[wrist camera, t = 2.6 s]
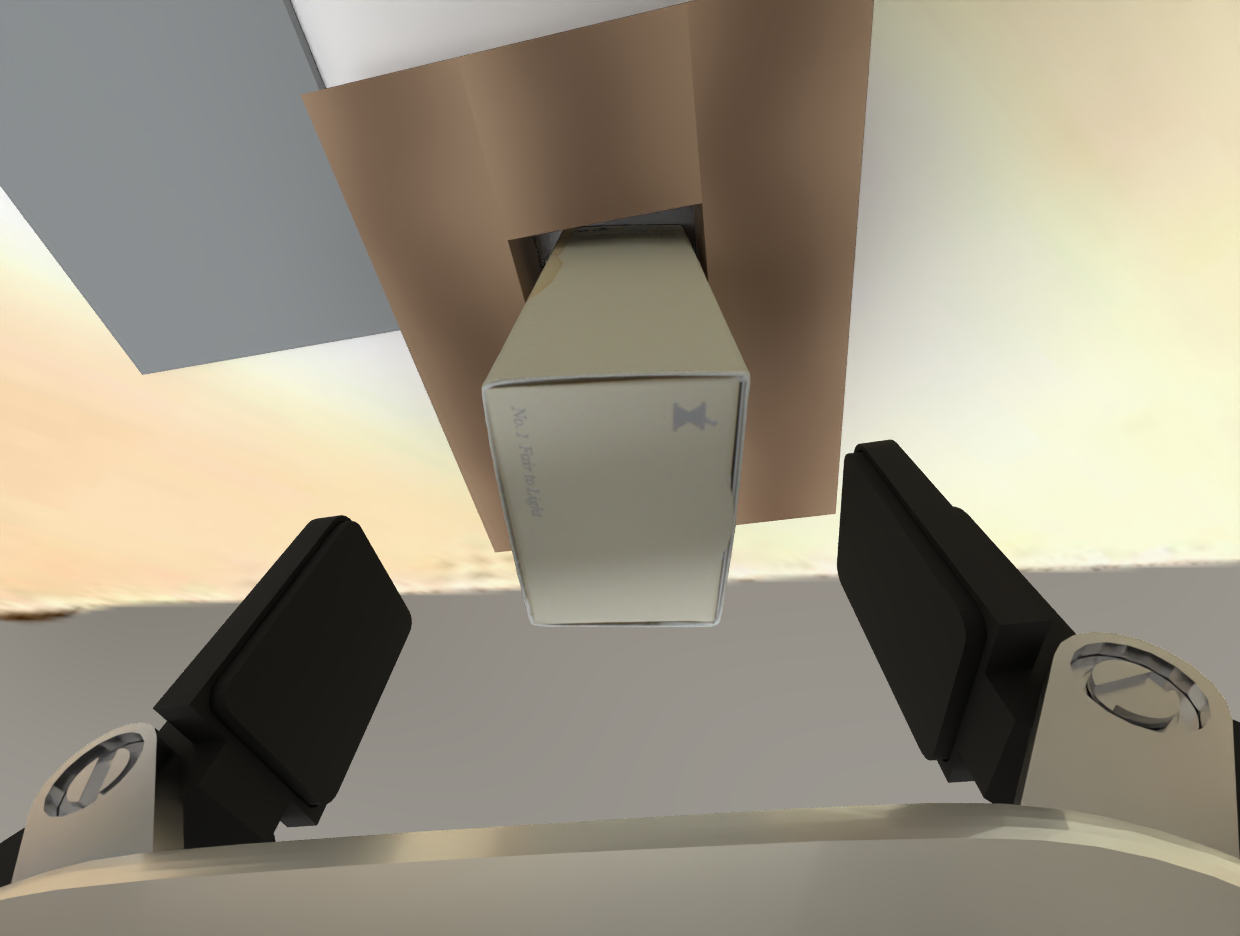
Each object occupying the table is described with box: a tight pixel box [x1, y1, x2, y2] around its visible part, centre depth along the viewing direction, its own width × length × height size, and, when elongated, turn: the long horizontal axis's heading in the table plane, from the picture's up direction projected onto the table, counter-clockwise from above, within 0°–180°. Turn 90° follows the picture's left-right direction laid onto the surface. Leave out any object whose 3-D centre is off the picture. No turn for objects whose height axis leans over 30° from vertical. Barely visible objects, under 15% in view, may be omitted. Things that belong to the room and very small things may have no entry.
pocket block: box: [301, 0, 874, 552], centre depth 18 cm, size 14×16×4 cm
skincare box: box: [482, 225, 750, 627], centre depth 14 cm, size 6×4×12 cm
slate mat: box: [0, 0, 400, 375], centre depth 17 cm, size 12×12×1 cm
